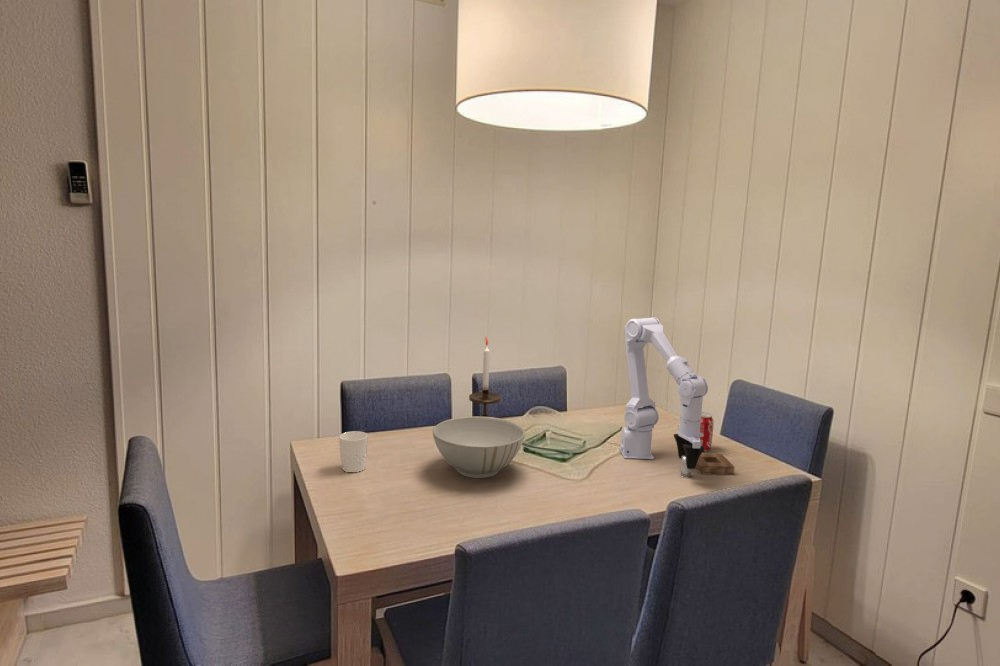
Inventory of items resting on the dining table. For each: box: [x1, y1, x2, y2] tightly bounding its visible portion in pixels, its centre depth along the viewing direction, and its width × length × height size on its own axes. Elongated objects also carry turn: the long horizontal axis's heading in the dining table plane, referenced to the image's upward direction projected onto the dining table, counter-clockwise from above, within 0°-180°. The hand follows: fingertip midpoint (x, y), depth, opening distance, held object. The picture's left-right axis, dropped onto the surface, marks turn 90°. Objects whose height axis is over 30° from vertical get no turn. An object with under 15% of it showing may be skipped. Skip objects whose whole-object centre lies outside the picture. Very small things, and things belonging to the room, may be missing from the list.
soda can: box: [700, 411, 715, 452], centre depth 194 cm, size 7×7×12 cm
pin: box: [679, 455, 692, 478], centre depth 172 cm, size 3×3×6 cm
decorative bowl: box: [432, 415, 526, 479], centre depth 171 cm, size 27×27×12 cm
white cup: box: [339, 430, 368, 473], centre depth 169 cm, size 8×8×10 cm
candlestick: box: [468, 335, 502, 417], centre depth 197 cm, size 11×11×35 cm
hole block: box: [695, 453, 735, 475], centre depth 179 cm, size 10×10×2 cm
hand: (686, 463), depth 171 cm, fingers open, 7 cm apart
